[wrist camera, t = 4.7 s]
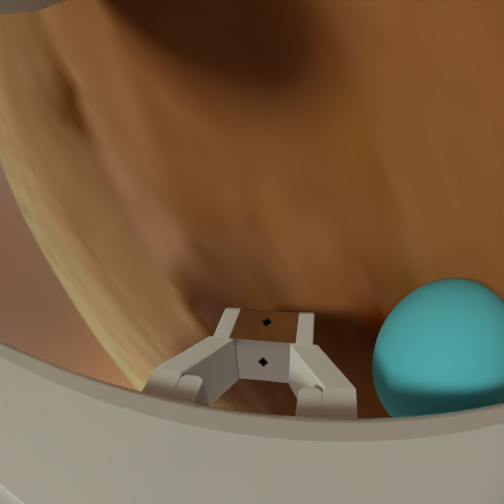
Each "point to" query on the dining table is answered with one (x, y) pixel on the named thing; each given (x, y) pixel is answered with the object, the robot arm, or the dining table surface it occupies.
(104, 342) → the dining table surface
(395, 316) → the ball
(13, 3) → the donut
